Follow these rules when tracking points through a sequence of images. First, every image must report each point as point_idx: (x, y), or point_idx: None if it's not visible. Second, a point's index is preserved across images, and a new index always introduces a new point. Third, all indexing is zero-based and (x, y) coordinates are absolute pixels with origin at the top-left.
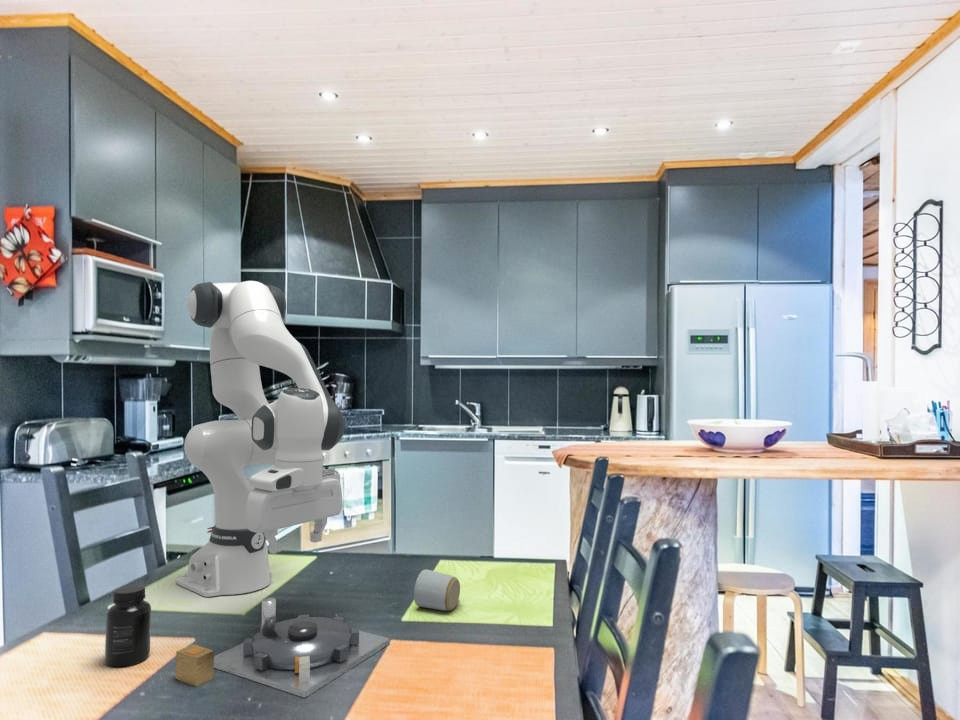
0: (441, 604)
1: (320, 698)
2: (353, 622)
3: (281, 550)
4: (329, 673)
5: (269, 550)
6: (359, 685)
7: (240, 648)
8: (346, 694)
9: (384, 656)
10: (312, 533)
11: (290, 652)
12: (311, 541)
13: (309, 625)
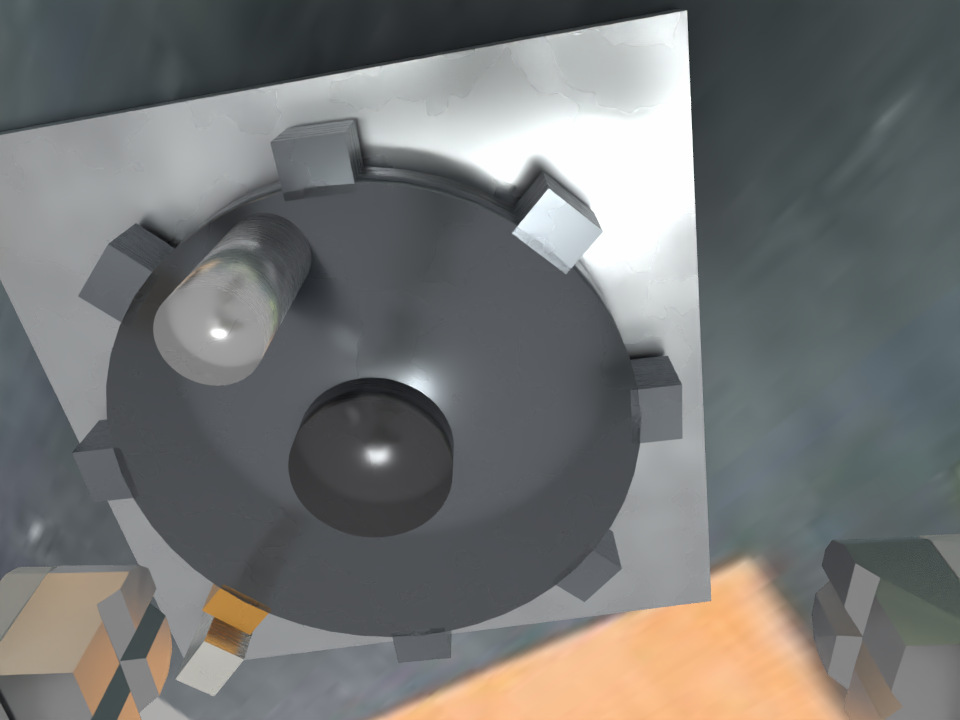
0: None
1: (236, 678)
2: (832, 292)
3: (164, 677)
4: (328, 638)
5: (9, 582)
6: (381, 702)
7: (138, 164)
8: (314, 711)
9: (600, 633)
10: (890, 683)
11: (225, 543)
12: (824, 561)
13: (408, 483)
